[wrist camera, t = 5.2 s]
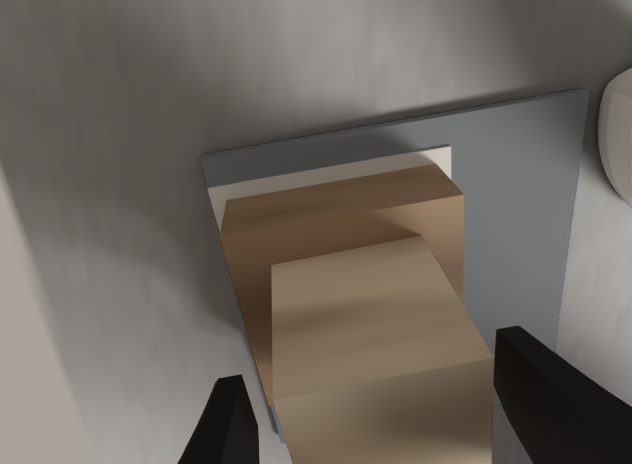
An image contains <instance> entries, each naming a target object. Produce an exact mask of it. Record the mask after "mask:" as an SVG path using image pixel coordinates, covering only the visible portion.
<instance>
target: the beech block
mask: <svg viewBox="0 0 632 464" xmlns="http://www.w3.org/2000/svg"><path fill="white" fill-rule="evenodd" d="M271 275H272V372H273V403H274V406H275V409H276V412H277V415H278V418H279V421H280V425H281V428H282V431H283V434H284V437H285V440H286V444H287V447H288V450H289V453H290V456H291V459H292V462H293V464H492V421H493V376H494V357H493V355H492V353H491V352H490V350H489V348H488V347H487V345H486V343H485V342H484V340H483V338H482V336H481V335H480V333H479V331H478V330H477V328H476V326H475V325H474V323H473V321H472V320H471V318H470V316H469V314H468V313H467V311H466V309H465V308H464V306H463V304H462V303H461V301H460V299H459V298H458V296H457V294H456V292H455V291H454V289H453V287H452V286H451V284H450V282H449V281H448V279H447V277H446V276H445V274H444V272H443V270H442V269H441V267H440V265H439V264H438V262H437V260H436V259H435V257H434V255H433V254H432V252H431V250H430V249H429V247H428V245H427V243H426V242H425V240H424V238H423V237H422V236H417V237H412V238H407V239H402V240H397V241H392V242H387V243H382V244H376V245H371V246H366V247H361V248H356V249H351V250H346V251H341V252H336V253H330V254H325V255H320V256H315V257H310V258H305V259H300V260H295V261H290V262H284V263H279V264H274V265H271Z"/></svg>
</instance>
